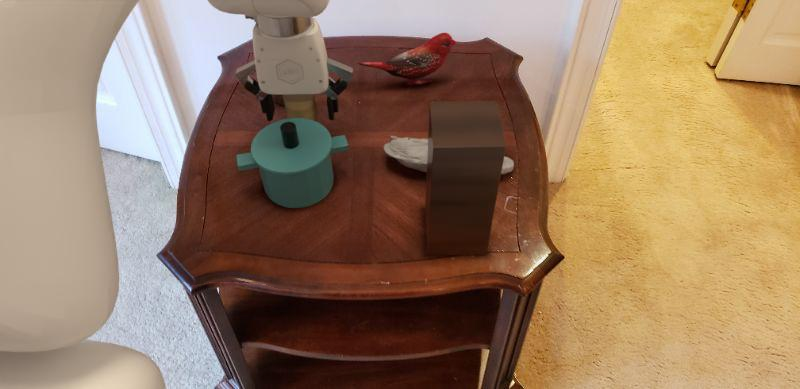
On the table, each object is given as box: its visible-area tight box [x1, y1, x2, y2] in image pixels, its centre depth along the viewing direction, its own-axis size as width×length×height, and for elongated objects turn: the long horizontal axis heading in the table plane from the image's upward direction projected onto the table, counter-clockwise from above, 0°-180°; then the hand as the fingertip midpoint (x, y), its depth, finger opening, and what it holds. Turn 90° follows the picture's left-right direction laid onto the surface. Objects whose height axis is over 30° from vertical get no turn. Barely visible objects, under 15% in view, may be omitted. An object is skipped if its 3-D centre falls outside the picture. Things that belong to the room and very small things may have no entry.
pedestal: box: [424, 100, 507, 256], centre depth 70 cm, size 8×8×20 cm
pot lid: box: [250, 118, 332, 175], centre depth 78 cm, size 11×11×4 cm
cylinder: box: [283, 94, 320, 123], centre depth 88 cm, size 5×5×9 cm
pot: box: [236, 134, 349, 209], centre depth 82 cm, size 10×16×8 cm, turn 106°
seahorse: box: [383, 135, 515, 176], centre depth 85 cm, size 5×12×20 cm
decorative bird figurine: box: [356, 32, 458, 86], centre depth 97 cm, size 3×18×10 cm, turn 102°
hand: (301, 115), depth 87 cm, fingers open, 9 cm apart
